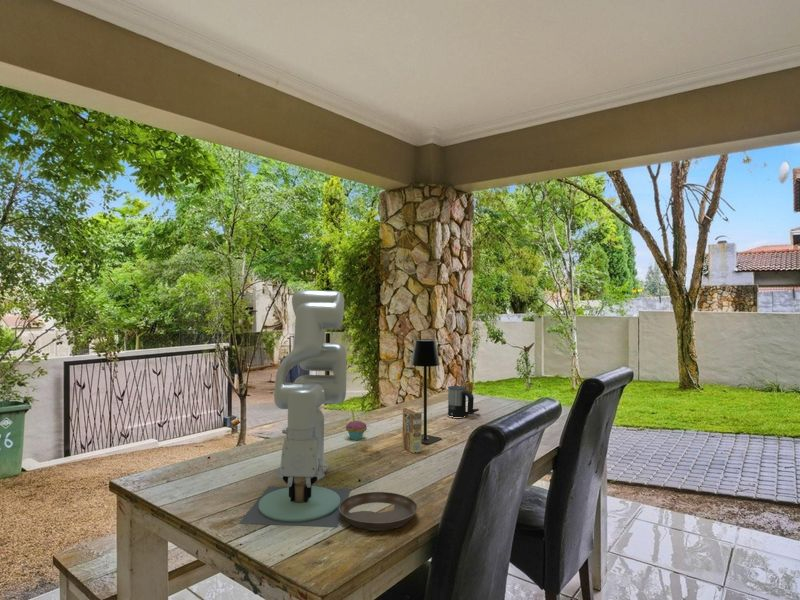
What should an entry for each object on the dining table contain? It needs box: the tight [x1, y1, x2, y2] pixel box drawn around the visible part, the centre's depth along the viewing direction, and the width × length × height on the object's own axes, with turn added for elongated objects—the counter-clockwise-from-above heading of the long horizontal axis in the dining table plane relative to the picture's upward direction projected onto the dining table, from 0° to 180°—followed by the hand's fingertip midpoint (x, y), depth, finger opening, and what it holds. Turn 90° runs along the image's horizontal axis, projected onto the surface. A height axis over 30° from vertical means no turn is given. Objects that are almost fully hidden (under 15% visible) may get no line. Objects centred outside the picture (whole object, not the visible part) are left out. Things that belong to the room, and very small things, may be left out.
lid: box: [259, 482, 340, 522], centre depth 136 cm, size 22×22×5 cm
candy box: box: [402, 407, 423, 454], centre depth 190 cm, size 9×4×15 cm, turn 26°
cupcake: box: [345, 409, 368, 441], centre depth 204 cm, size 9×8×12 cm
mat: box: [238, 485, 352, 528], centre depth 136 cm, size 25×25×1 cm
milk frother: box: [447, 385, 480, 417], centre depth 248 cm, size 14×16×15 cm
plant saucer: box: [339, 491, 418, 531], centre depth 130 cm, size 21×21×3 cm
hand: (300, 499), depth 136 cm, fingers closed on lid, 3 cm apart
